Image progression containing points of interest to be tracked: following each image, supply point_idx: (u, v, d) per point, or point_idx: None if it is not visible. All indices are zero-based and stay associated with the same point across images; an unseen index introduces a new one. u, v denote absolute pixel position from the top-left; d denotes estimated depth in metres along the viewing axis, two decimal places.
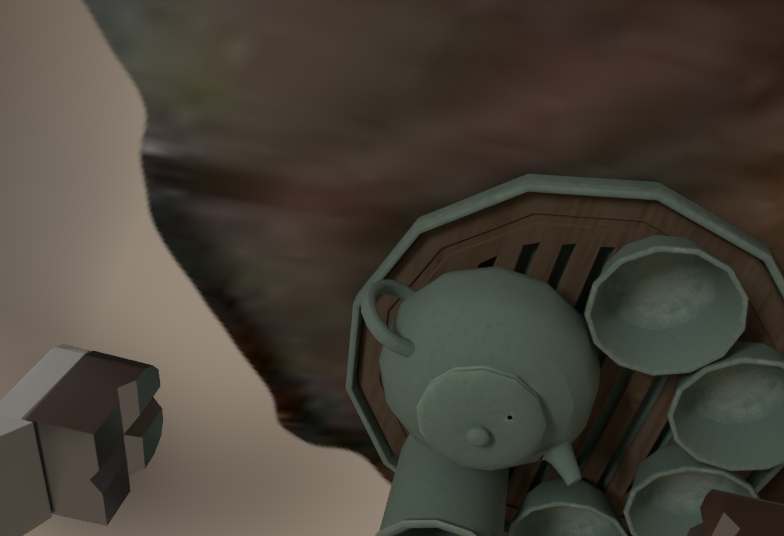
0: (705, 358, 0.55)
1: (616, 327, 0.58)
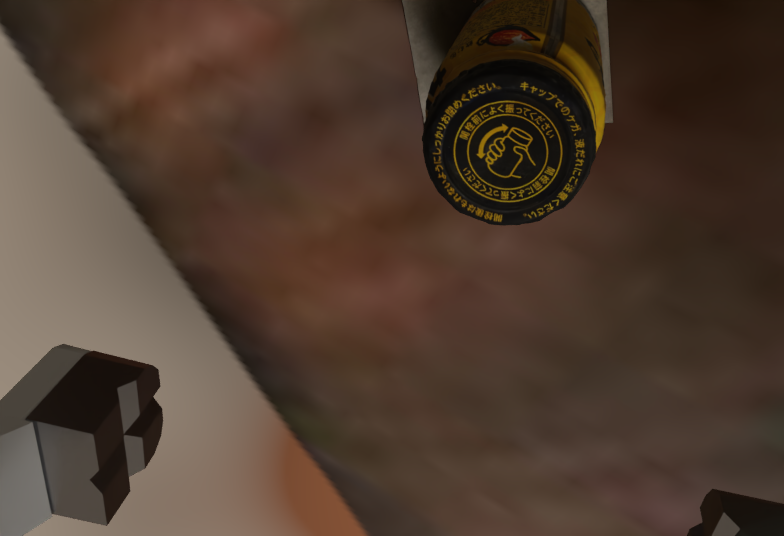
0: None
1: None
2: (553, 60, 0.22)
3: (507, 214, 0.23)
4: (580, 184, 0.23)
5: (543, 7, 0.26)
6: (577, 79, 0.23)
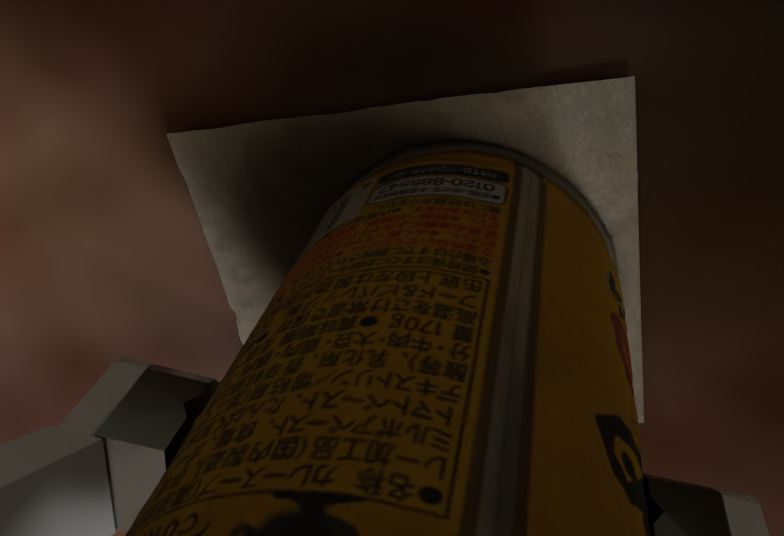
0: None
1: None
2: None
3: None
4: None
5: (470, 309, 0.09)
6: None
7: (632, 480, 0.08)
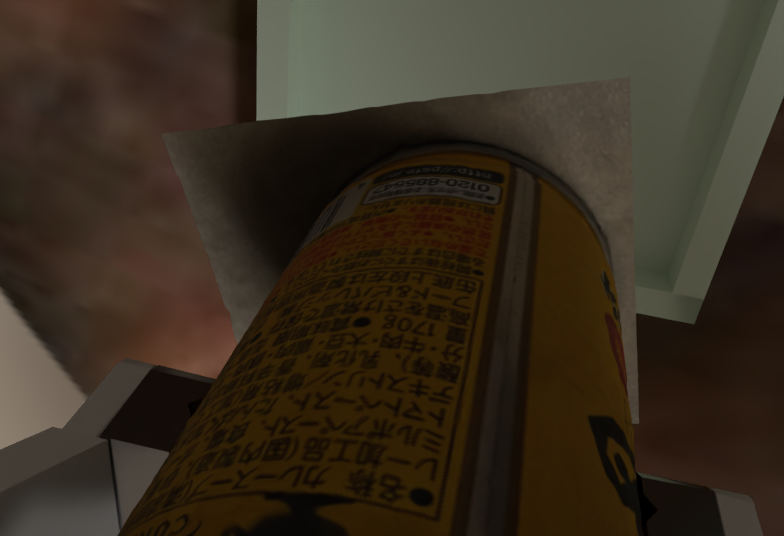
0: None
1: None
2: None
3: None
4: None
5: (463, 310, 0.09)
6: None
7: (625, 482, 0.08)
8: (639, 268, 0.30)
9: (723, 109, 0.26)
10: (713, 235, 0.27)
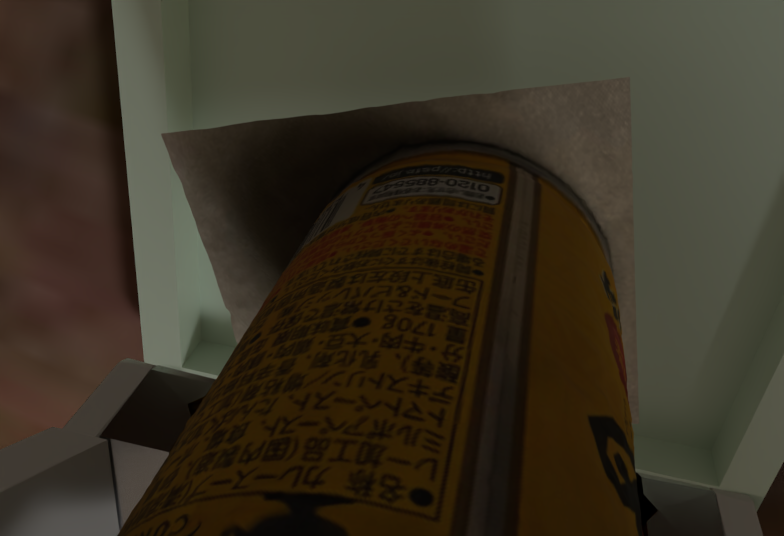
0: None
1: None
2: None
3: None
4: None
5: (463, 310, 0.09)
6: None
7: (625, 481, 0.08)
8: (671, 441, 0.22)
9: None
10: (782, 419, 0.19)
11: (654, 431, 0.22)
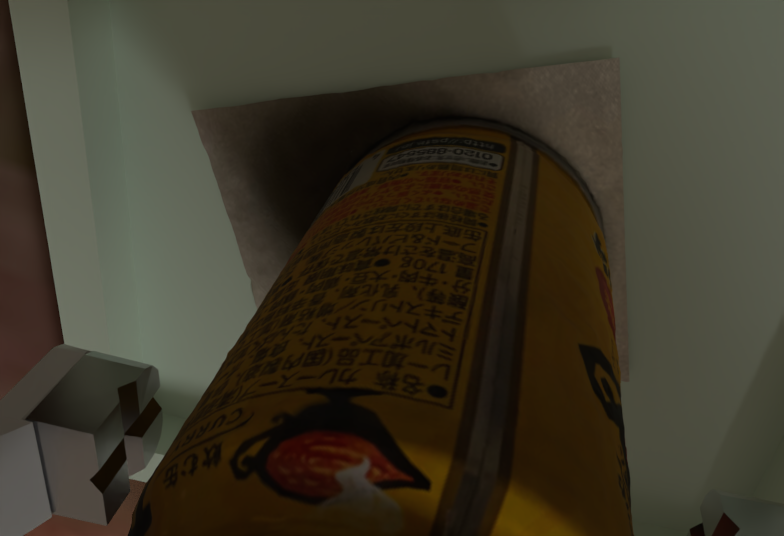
0: None
1: None
2: None
3: None
4: None
5: (470, 254, 0.10)
6: None
7: (610, 401, 0.10)
8: (682, 530, 0.19)
9: None
10: None
11: (663, 519, 0.19)
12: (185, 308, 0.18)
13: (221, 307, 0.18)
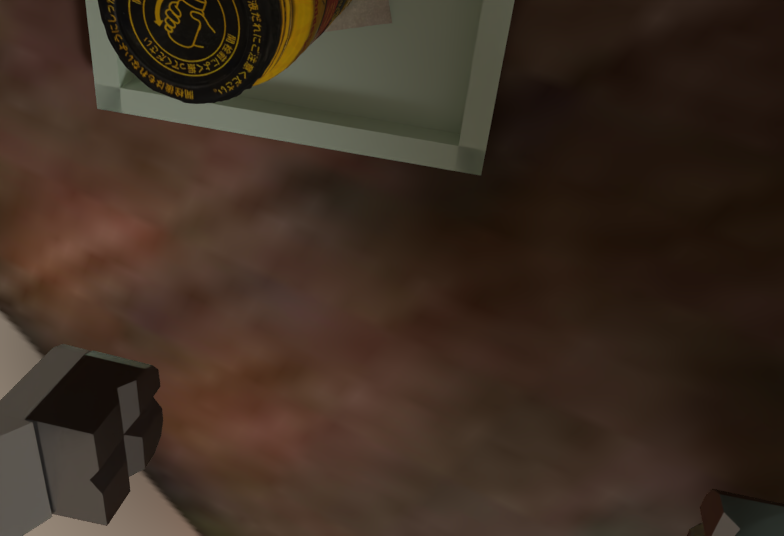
0: None
1: None
2: None
3: (198, 90, 0.22)
4: (264, 54, 0.21)
5: None
6: None
7: None
8: (436, 129, 0.34)
9: None
10: (484, 88, 0.31)
11: (425, 122, 0.34)
12: None
13: None
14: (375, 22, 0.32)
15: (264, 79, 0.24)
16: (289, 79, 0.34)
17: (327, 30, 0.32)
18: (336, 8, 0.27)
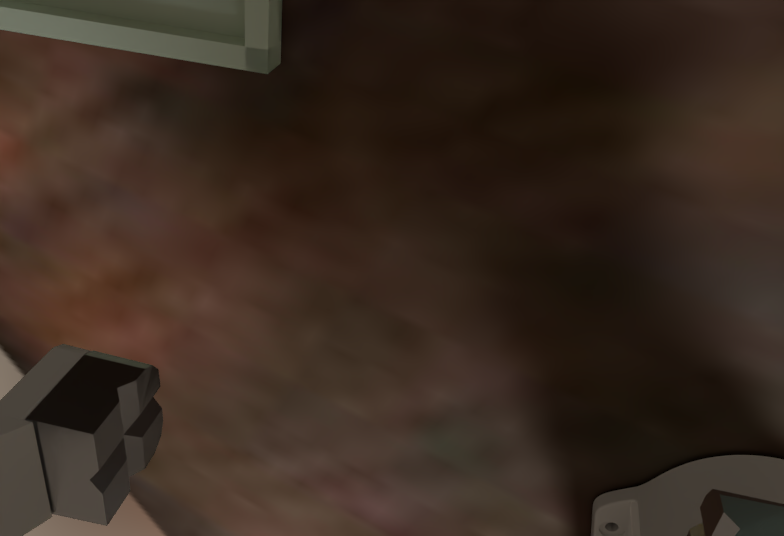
0: None
1: None
2: None
3: None
4: None
5: None
6: None
7: None
8: (233, 35, 0.38)
9: None
10: None
11: (223, 29, 0.38)
12: None
13: None
14: None
15: None
16: None
17: None
18: None
